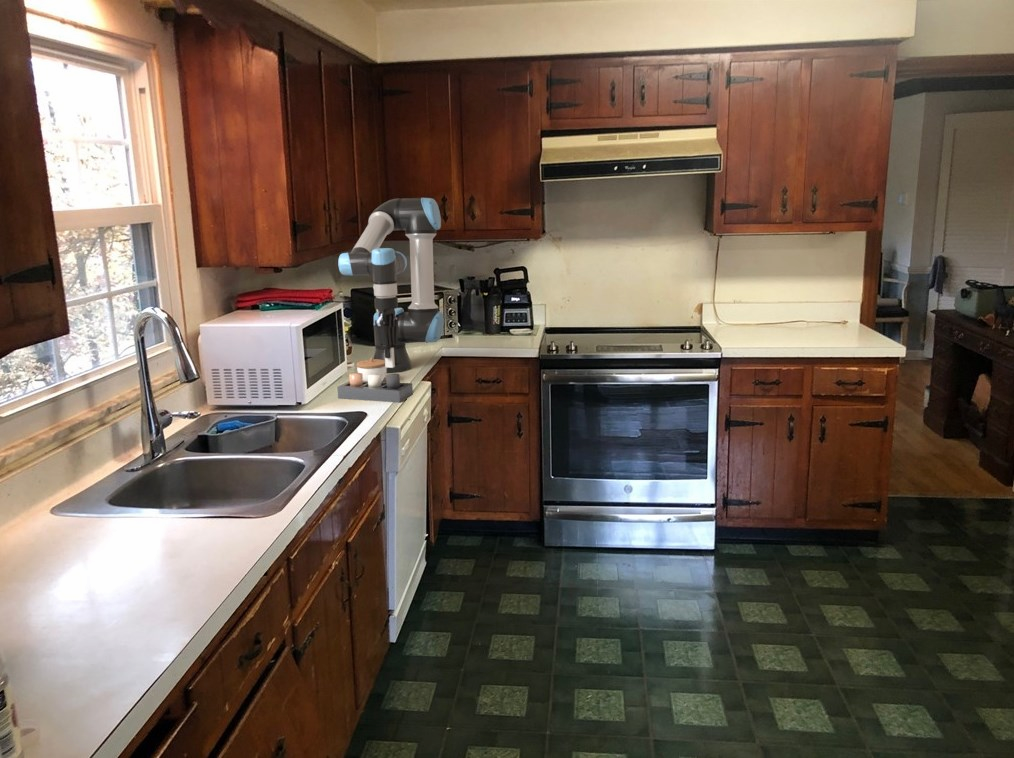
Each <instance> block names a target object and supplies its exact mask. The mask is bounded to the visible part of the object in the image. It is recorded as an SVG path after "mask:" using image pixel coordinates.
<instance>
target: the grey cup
mask: <svg viewBox="0 0 1014 758" xmlns="http://www.w3.org/2000/svg"><path fill="white" fill-rule="evenodd" d="M385 379H386V382H387V388H390V389H399V388H400V383H401V376H400V374H399V373H387V374H386V376H385Z"/></svg>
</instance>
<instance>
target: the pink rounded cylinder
mask: <svg viewBox="0 0 1014 758" xmlns="http://www.w3.org/2000/svg"><path fill="white" fill-rule="evenodd" d="M348 375H349V376H348V377H349V378H348V379H349V381H350V386H358V387H360V386H362V385H363V376H362V373H358V372H351V373H349V374H348Z"/></svg>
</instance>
